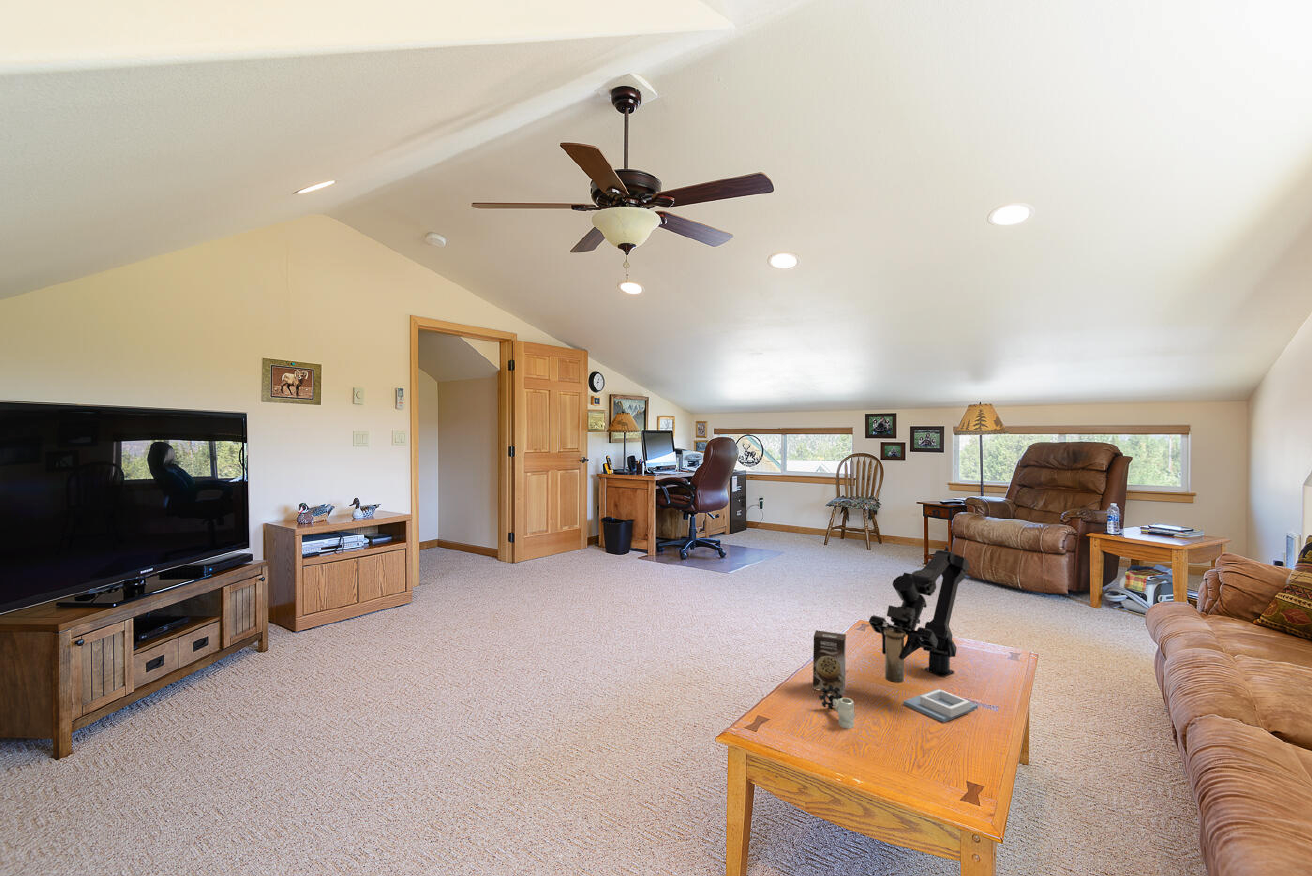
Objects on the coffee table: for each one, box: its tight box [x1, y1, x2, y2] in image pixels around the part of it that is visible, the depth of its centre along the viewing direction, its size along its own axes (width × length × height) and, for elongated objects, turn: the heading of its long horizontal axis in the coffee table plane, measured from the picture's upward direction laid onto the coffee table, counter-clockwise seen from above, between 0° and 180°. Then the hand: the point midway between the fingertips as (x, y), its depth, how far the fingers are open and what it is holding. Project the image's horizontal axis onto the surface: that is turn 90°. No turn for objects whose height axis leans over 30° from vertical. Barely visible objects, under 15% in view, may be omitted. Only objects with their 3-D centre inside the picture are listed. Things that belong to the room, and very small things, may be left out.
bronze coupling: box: [884, 628, 907, 684], centre depth 164 cm, size 6×6×14 cm
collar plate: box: [902, 688, 979, 724], centre depth 159 cm, size 16×12×3 cm
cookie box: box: [812, 629, 847, 696], centre depth 170 cm, size 9×6×16 cm
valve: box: [818, 685, 856, 730], centre depth 152 cm, size 7×7×12 cm
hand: (892, 656), depth 163 cm, fingers closed on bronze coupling, 5 cm apart
